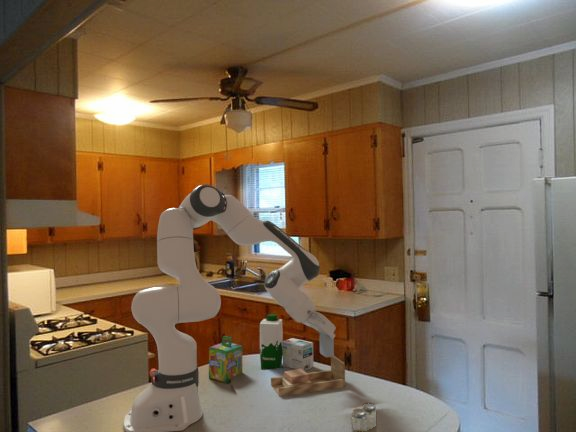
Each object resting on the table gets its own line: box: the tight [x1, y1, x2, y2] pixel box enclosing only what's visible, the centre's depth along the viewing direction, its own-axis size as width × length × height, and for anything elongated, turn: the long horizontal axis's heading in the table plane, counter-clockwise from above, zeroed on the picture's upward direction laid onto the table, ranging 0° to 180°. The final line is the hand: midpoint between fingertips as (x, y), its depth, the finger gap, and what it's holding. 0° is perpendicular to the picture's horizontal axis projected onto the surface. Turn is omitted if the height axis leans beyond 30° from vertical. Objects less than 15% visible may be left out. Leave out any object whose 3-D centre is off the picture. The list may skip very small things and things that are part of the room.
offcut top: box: [283, 369, 309, 384], centre depth 148 cm, size 6×6×2 cm
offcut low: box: [282, 378, 311, 387], centre depth 148 cm, size 8×7×2 cm
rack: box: [270, 355, 346, 397], centre depth 149 cm, size 23×10×9 cm, turn 108°
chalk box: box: [208, 335, 243, 384], centre depth 162 cm, size 9×9×15 cm
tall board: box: [319, 323, 335, 358], centre depth 151 cm, size 3×6×11 cm, turn 17°
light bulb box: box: [282, 337, 314, 372], centre depth 169 cm, size 11×7×11 cm, turn 49°
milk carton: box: [259, 313, 284, 370], centre depth 172 cm, size 9×9×20 cm
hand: (328, 334), depth 151 cm, fingers closed on tall board, 6 cm apart
